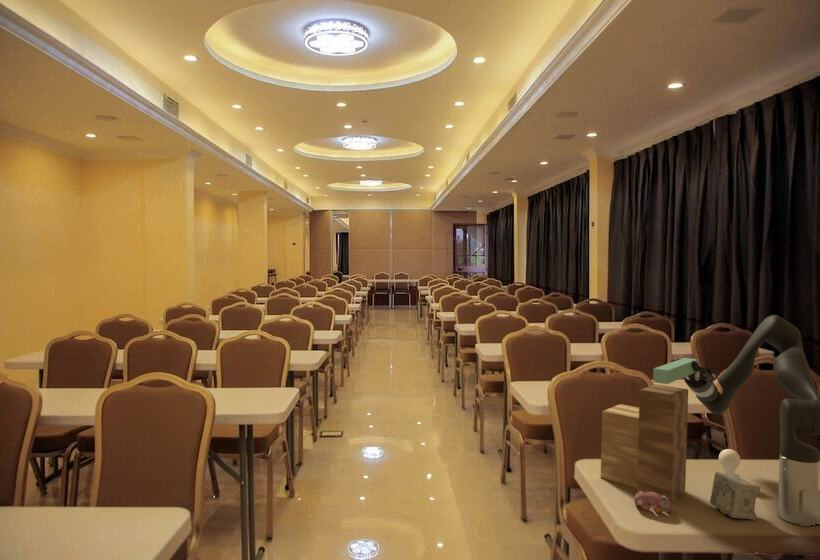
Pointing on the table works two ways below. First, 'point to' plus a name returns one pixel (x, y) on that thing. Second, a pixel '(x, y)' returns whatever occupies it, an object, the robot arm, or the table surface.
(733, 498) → the grey speckled block
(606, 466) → the oak block
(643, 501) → the pink animal figurine
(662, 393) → the walnut stand
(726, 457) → the lightbulb
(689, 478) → the table surface
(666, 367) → the bar
